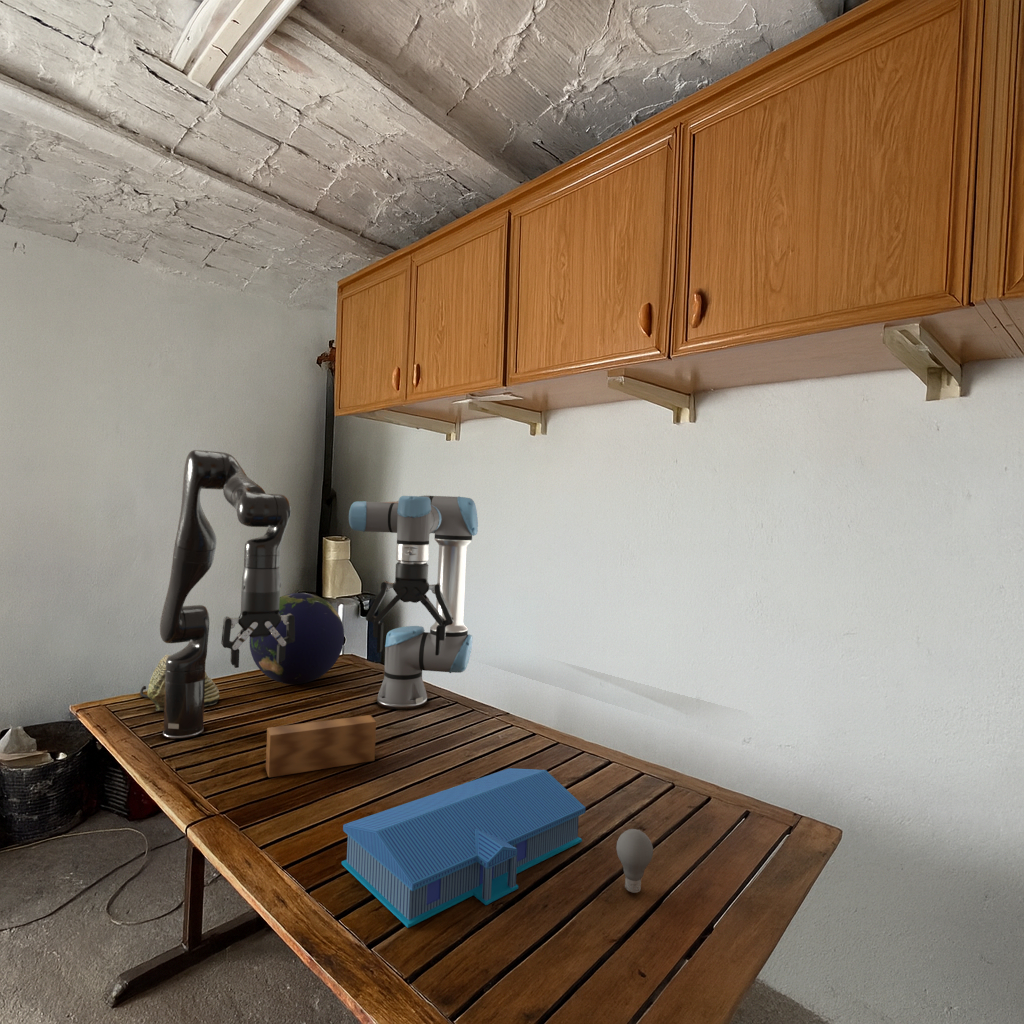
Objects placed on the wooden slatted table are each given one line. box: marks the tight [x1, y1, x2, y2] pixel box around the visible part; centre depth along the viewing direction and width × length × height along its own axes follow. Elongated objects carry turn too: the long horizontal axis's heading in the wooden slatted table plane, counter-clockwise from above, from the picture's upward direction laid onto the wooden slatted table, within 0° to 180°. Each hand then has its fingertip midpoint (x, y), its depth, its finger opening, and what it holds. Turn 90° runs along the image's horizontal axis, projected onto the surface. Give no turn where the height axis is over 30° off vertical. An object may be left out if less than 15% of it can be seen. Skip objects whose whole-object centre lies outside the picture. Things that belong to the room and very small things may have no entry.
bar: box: [265, 714, 377, 778], centre depth 149 cm, size 24×5×10 cm, turn 119°
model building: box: [341, 767, 586, 929], centre depth 114 cm, size 39×24×10 cm, turn 132°
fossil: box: [146, 654, 221, 712], centre depth 185 cm, size 9×18×15 cm, turn 132°
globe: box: [248, 592, 345, 686], centre depth 212 cm, size 30×30×30 cm
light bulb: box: [615, 828, 654, 894], centre depth 106 cm, size 6×6×10 cm
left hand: (257, 664), depth 133 cm, fingers open, 8 cm apart
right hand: (408, 652), depth 148 cm, fingers open, 13 cm apart
